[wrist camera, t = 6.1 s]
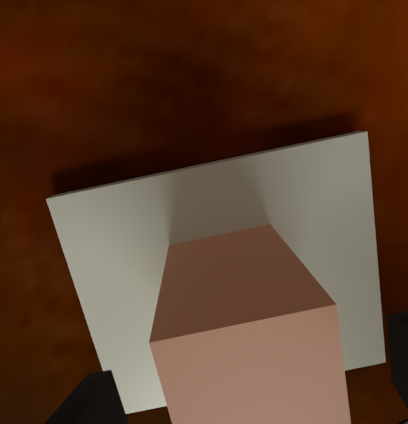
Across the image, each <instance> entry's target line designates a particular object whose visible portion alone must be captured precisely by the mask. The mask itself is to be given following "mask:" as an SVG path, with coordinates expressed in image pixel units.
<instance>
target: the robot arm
mask: <svg viewBox="0 0 408 424" xmlns="http://www.w3.org/2000/svg"><path fill="white" fill-rule="evenodd" d="M387 325H388V338H389V352H390V365H391V379H392V383H393V385H394V386H395V388H396V390H397V391H398V393H399V395H400V396H401V398H402V400H403V401H404V403H405V405H406V406H407V408H408V311H406V312H401V313H396V314H391V315H387ZM45 424H129V423H128V420H127V417H126V414H125V411H124V408H123V404H122V401H121V398H120V395H119V392H118V389H117V386H116V383H115V380H114V377H113V374H112V371H111V370H107V371H102V372H96V373H91V374H88V375H87V376H86V377H85V378H84V379H83V380H82V381H81V383H80V384H79V385H78V386H77V387H76V388H75V389H74V390H73V392H72V393H71V394H70V395H69V396H68V397H67V398H66V400H65V401H64V402H63V403H62V404H61V405H60V407H59V408H58V409H57V410H56V411H55V412H54V414H53V415H52V416H51V417H50V418H49V419H48V420H47V422H46V423H45Z"/></svg>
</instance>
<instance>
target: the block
mask: <svg viewBox="0 0 408 424" xmlns="http://www.w3.org/2000/svg"><path fill="white" fill-rule="evenodd" d="M149 345H150V348H151V352H152V355H153V359H154V362H155V366H156V369H157V373H158V376H159V379H160V383H161V386H162V390H163V393H164V397H165V400H166V404H167V407H168V411H169V414H170V418H171V421H172V424H351V419H350V411H349V403H348V395H347V386H346V378H345V370H344V362H343V353H342V345H341V337H340V328H339V320H338V312H337V304H336V303H335V302H334V301H333V299H332V298H331V297H330V296H329V295H328V293H327V292H326V291H325V290H324V289H323V287H322V286H321V285H320V284H319V282H318V281H317V280H316V279H315V278H314V276H313V275H312V274H311V273H310V272H309V270H308V269H307V268H306V267H305V265H304V264H303V263H302V262H301V261H300V259H299V258H298V257H297V256H296V255H295V253H294V252H293V251H292V250H291V248H290V247H289V246H288V245H287V244H286V242H285V241H284V240H283V239H282V238H281V236H280V235H279V234H278V233H277V232H276V230H275V229H274V228H273V227H272V225H271V224H268V225H264V226H259V227H254V228H249V229H245V230H240V231H235V232H230V233H226V234H221V235H216V236H211V237H207V238H202V239H197V240H192V241H187V242H183V243H178V244H173V245H169V247H168V252H167V257H166V262H165V267H164V271H163V276H162V281H161V286H160V291H159V296H158V301H157V306H156V311H155V315H154V320H153V325H152V330H151V335H150V340H149Z"/></svg>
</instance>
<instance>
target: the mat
mask: <svg viewBox="0 0 408 424" xmlns="http://www.w3.org/2000/svg"><path fill="white" fill-rule="evenodd" d="M46 201H47V204H48V207H49V210H50V213H51V216H52V219H53V222H54V225H55V228H56V231H57V234H58V237H59V240H60V243H61V246H62V249H63V252H64V255H65V258H66V261H67V264H68V267H69V270H70V273H71V276H72V279H73V282H74V285H75V288H76V291H77V294H78V297H79V300H80V303H81V306H82V309H83V312H84V315H85V318H86V321H87V324H88V327H89V330H90V333H91V336H92V339H93V342H94V345H95V348H96V351H97V354H98V357H99V360H100V363H101V366H102V369H103V371H107V370H111V371H112V374H113V377H114V380H115V383H116V386H117V389H118V392H119V395H120V398H121V401H122V404H123V408H124V411H125V414H128V413H133V412H138V411H143V410H148V409H153V408H158V407H163V406H167V404H166V400H165V397H164V393H163V390H162V386H161V383H160V379H159V376H158V373H157V369H156V366H155V362H154V359H153V355H152V352H151V348H150V345H149V340H150V335H151V330H152V325H153V320H154V315H155V311H156V306H157V301H158V296H159V291H160V286H161V281H162V276H163V271H164V267H165V262H166V257H167V252H168V247H169V245H173V244H178V243H183V242H187V241H192V240H197V239H202V238H207V237H211V236H216V235H221V234H226V233H230V232H235V231H240V230H245V229H249V228H254V227H259V226H264V225H268V224H271V225H272V227H273V228H274V229H275V230H276V232H277V233H278V234H279V235H280V236H281V238H282V239H283V240H284V241H285V242H286V244H287V245H288V246H289V247H290V248H291V250H292V251H293V252H294V253H295V255H296V256H297V257H298V258H299V259H300V261H301V262H302V263H303V264H304V265H305V267H306V268H307V269H308V270H309V272H310V273H311V274H312V275H313V276H314V278H315V279H316V280H317V281H318V282H319V284H320V285H321V286H322V287H323V289H324V290H325V291H326V292H327V293H328V295H329V296H330V297H331V298H332V299H333V301H334V302H335V303H336V304H337V312H338V320H339V328H340V337H341V345H342V353H343V362H344V370H350V369H355V368H360V367H365V366H370V365H375V364H380V363H386V359H385V347H384V334H383V321H382V309H381V296H380V284H379V271H378V258H377V246H376V233H375V220H374V208H373V195H372V182H371V170H370V157H369V145H368V132H367V131H356V132H351V133H347V134H342V135H337V136H332V137H328V138H323V139H318V140H313V141H309V142H304V143H299V144H294V145H290V146H285V147H280V148H275V149H271V150H266V151H261V152H256V153H252V154H247V155H242V156H237V157H232V158H228V159H223V160H218V161H213V162H209V163H204V164H199V165H194V166H190V167H185V168H180V169H175V170H171V171H166V172H161V173H156V174H152V175H147V176H142V177H137V178H133V179H128V180H123V181H118V182H113V183H109V184H104V185H99V186H94V187H90V188H85V189H80V190H75V191H71V192H66V193H61V194H56V195H53V196H51V197H49V198H47V199H46Z"/></svg>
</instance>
